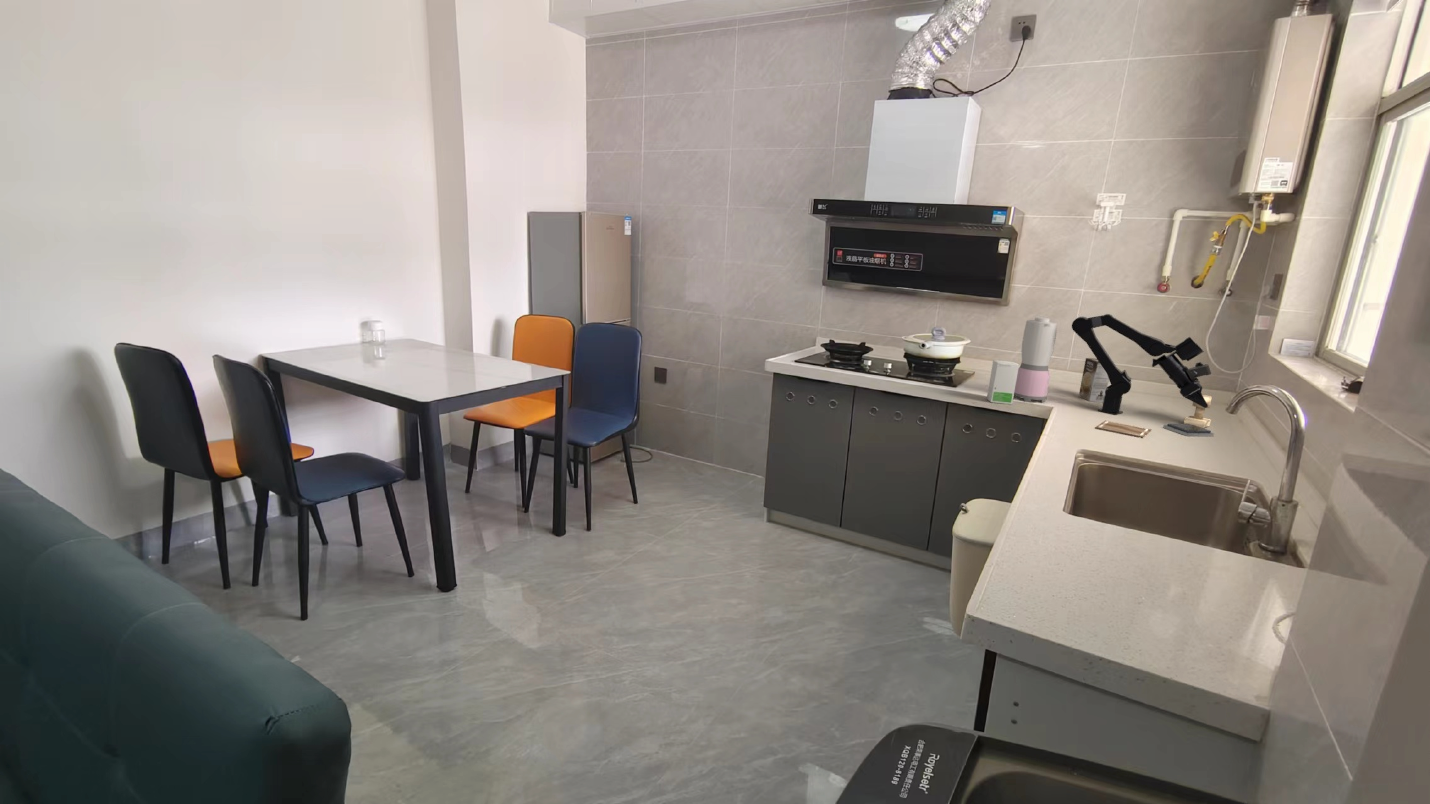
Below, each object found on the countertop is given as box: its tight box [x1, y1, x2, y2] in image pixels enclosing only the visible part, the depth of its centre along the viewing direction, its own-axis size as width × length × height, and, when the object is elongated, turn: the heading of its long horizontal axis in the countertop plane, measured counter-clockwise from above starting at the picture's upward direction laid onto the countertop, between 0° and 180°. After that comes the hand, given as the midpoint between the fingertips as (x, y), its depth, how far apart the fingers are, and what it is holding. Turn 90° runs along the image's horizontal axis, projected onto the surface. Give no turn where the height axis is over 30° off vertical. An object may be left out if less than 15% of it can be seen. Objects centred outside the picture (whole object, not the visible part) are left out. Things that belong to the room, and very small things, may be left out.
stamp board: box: [1094, 420, 1152, 439], centre depth 225 cm, size 14×14×1 cm
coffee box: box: [1078, 357, 1110, 403], centre depth 269 cm, size 9×6×16 cm
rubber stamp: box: [1183, 394, 1213, 429], centre depth 235 cm, size 6×6×11 cm
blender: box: [1013, 316, 1058, 403], centre depth 262 cm, size 16×12×32 cm
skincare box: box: [986, 359, 1020, 405], centre depth 255 cm, size 8×7×16 cm
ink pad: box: [1163, 422, 1215, 437], centre depth 227 cm, size 10×10×2 cm
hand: (1205, 404), depth 234 cm, fingers open, 9 cm apart
